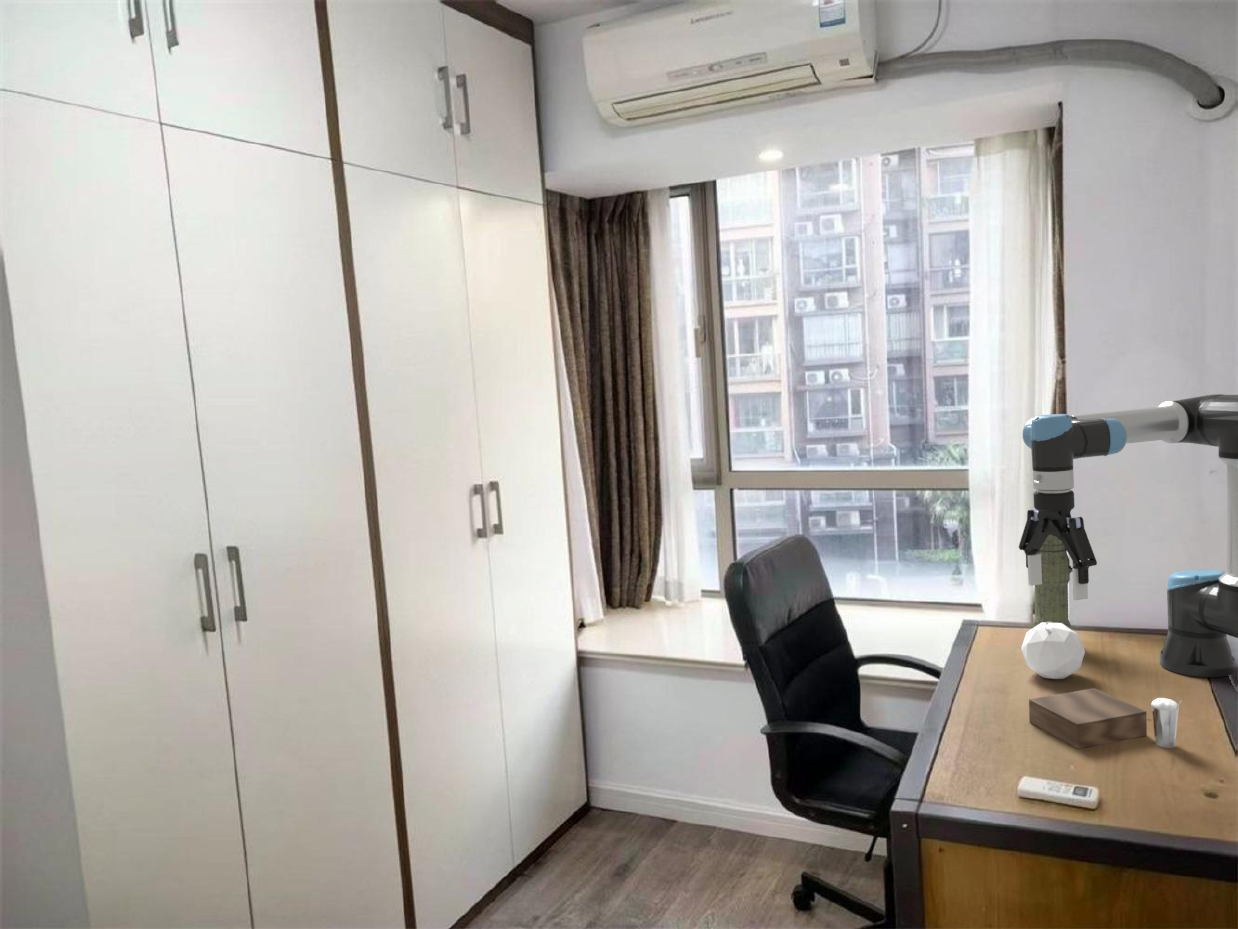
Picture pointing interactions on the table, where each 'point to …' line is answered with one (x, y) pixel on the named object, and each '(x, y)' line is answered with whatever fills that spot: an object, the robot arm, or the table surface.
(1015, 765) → the table surface
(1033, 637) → the geodesic sphere
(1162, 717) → the milkshake
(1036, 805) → the table surface
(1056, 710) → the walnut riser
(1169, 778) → the table surface
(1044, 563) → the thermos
